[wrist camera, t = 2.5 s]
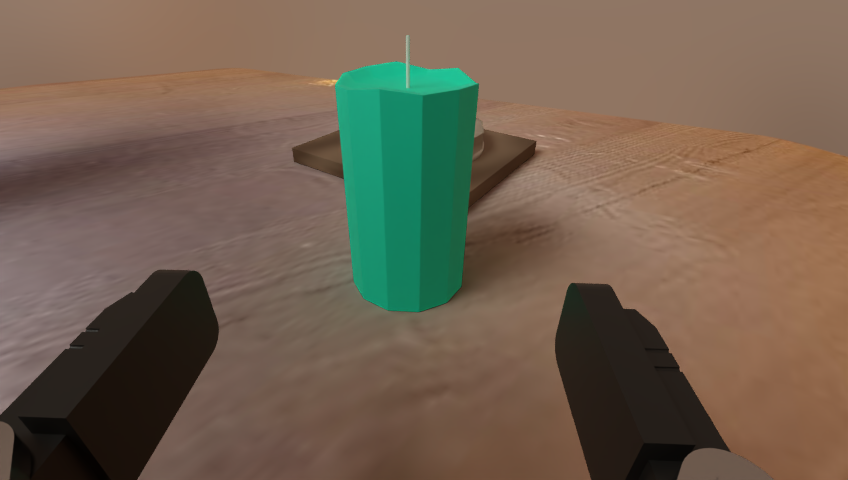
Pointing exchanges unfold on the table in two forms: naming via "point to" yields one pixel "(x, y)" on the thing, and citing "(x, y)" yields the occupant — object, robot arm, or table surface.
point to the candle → (407, 179)
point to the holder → (489, 160)
